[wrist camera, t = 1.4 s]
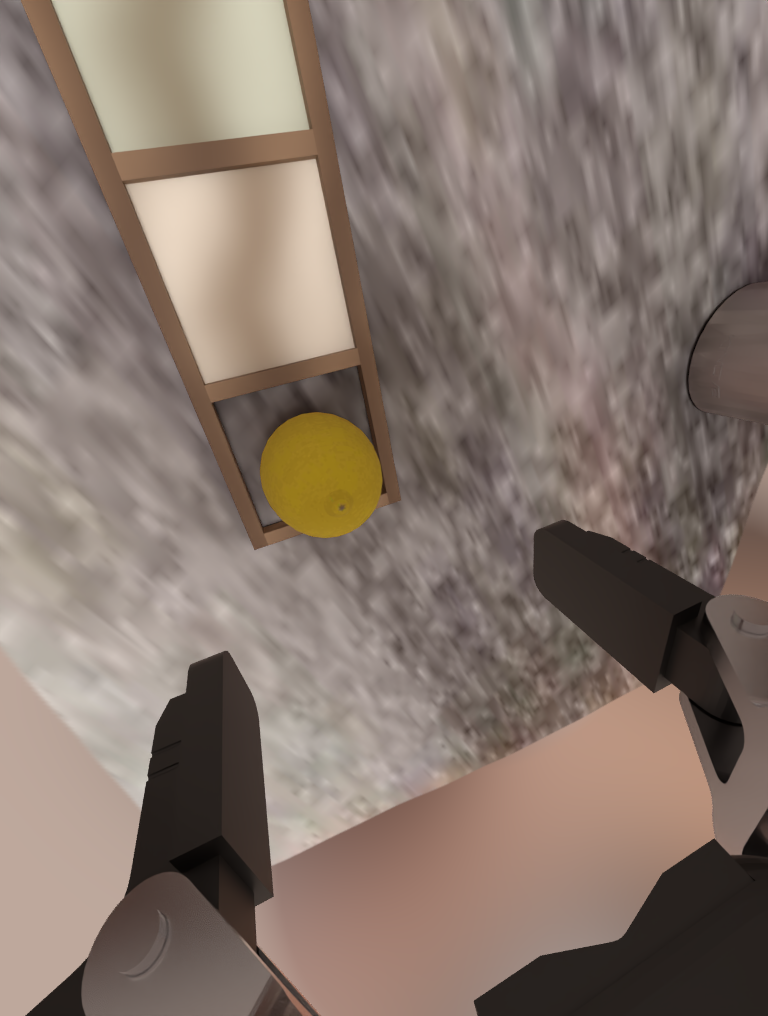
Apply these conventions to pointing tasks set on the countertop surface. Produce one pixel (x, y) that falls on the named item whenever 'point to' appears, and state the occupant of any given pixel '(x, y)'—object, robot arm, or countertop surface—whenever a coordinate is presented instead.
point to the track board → (222, 196)
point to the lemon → (321, 474)
